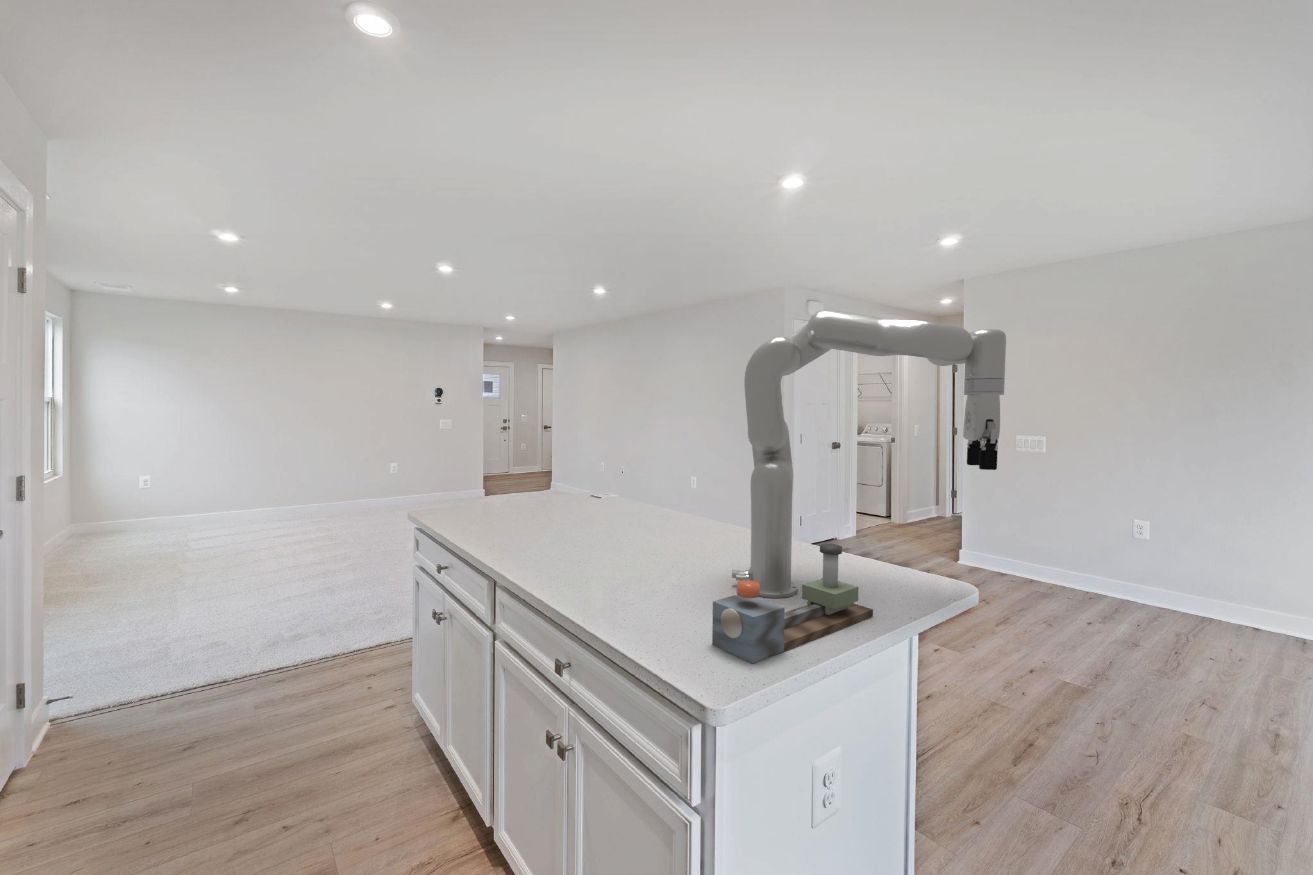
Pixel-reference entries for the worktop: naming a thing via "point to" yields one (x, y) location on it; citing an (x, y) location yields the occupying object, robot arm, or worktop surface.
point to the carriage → (830, 584)
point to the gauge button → (748, 589)
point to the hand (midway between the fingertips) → (981, 467)
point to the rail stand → (774, 625)
